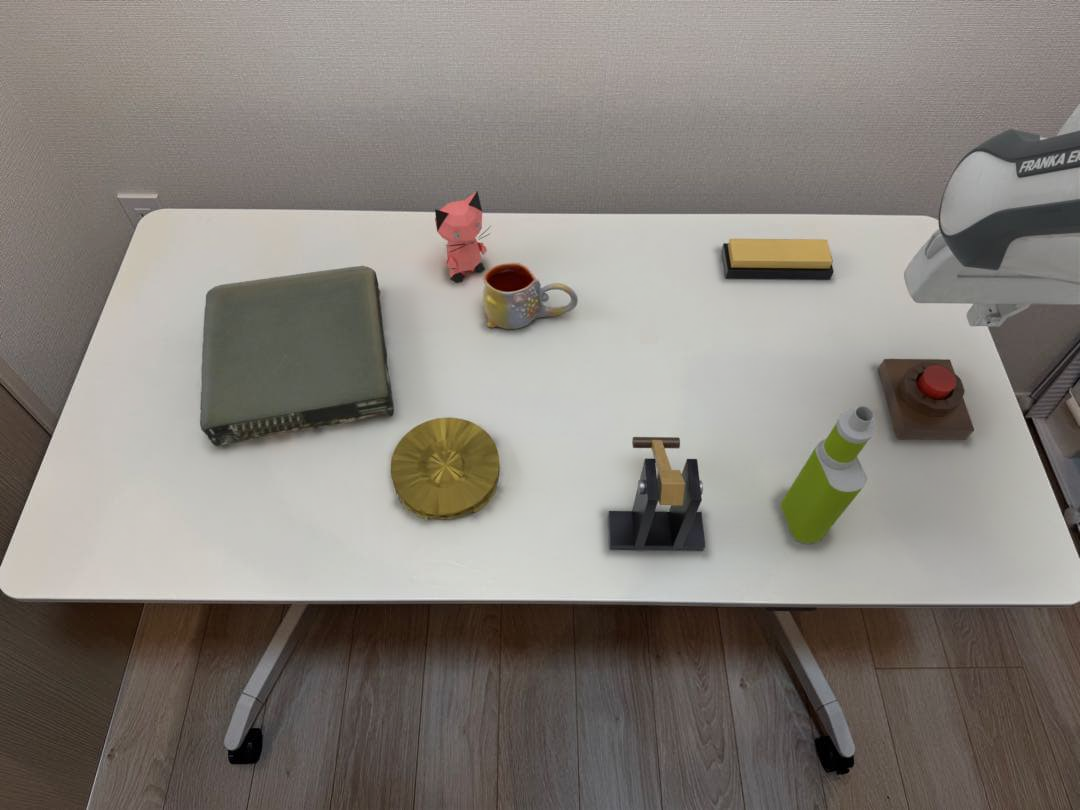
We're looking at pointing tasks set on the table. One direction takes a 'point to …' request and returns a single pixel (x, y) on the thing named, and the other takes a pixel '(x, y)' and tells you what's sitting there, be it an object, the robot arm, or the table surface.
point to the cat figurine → (462, 235)
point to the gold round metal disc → (445, 468)
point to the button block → (923, 402)
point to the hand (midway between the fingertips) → (981, 321)
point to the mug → (519, 296)
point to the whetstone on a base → (777, 259)
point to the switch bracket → (660, 516)
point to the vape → (829, 478)
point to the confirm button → (936, 382)
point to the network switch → (293, 354)
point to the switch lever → (664, 468)
